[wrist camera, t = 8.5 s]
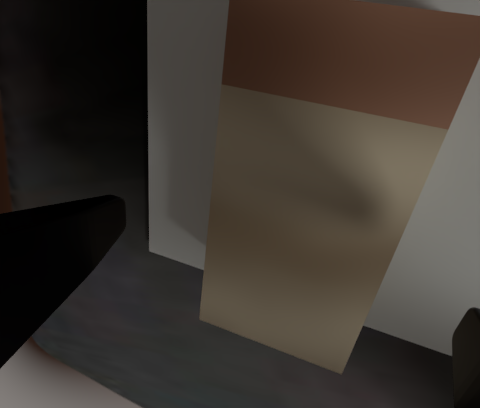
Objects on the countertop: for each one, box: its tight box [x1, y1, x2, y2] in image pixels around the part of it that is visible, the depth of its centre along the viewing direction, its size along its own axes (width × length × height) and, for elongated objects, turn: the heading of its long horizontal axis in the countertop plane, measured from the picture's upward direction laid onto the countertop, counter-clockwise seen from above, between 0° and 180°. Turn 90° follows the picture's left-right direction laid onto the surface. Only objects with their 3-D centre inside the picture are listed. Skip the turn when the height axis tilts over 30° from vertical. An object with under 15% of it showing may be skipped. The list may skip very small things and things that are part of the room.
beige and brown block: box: [199, 0, 480, 374], centre depth 12 cm, size 12×6×4 cm, turn 172°
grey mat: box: [147, 0, 480, 356], centre depth 14 cm, size 16×14×1 cm
